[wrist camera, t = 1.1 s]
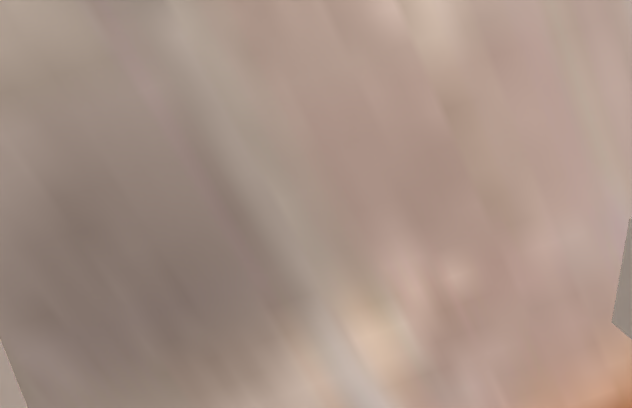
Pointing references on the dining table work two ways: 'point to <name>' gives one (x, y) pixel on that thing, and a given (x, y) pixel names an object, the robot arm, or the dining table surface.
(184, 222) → the dining table surface
